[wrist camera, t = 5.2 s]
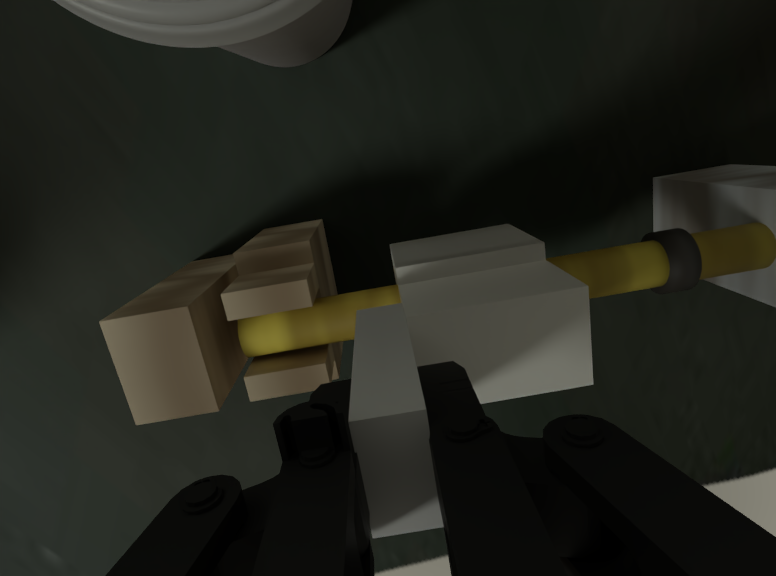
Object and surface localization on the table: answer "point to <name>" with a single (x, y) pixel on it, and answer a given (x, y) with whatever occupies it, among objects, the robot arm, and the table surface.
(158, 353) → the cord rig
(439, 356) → the grey stepped block
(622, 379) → the table surface
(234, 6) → the coffee cup
